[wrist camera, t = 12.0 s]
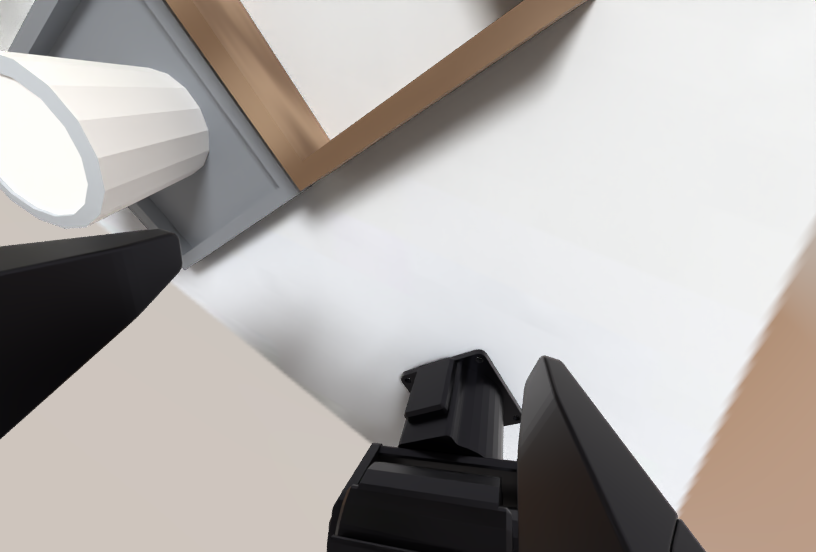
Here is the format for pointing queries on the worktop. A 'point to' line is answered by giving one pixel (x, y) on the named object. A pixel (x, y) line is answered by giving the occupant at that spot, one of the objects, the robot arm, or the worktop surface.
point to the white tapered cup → (92, 136)
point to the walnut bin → (288, 112)
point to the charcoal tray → (226, 121)
